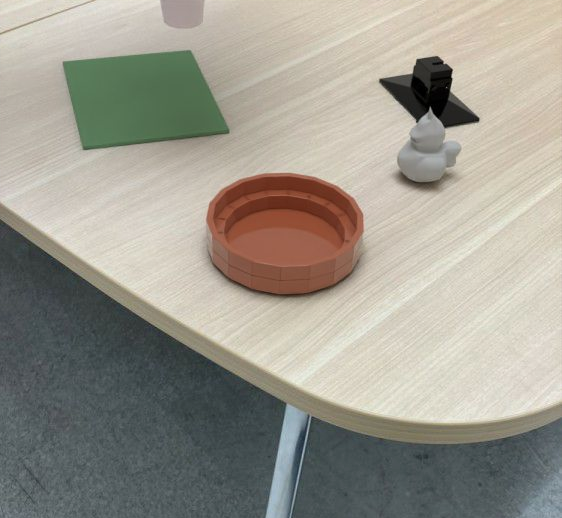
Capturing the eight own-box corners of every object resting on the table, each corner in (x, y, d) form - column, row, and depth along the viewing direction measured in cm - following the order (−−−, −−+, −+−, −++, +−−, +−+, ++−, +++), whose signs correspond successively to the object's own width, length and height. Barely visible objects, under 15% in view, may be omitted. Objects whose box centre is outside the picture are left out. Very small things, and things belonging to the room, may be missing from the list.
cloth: (83, 149, 84) (82, 146, 83) (63, 64, 97) (62, 61, 96) (229, 132, 87) (229, 129, 87) (190, 52, 100) (190, 49, 100)
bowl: (229, 309, 68) (228, 278, 65) (193, 213, 77) (191, 182, 74) (382, 283, 71) (387, 253, 68) (330, 194, 80) (333, 164, 78)
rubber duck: (387, 164, 84) (399, 94, 78) (446, 160, 85) (461, 91, 80) (402, 193, 81) (415, 121, 75) (462, 189, 82) (480, 118, 76)
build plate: (479, 122, 92) (489, 84, 88) (425, 132, 89) (432, 94, 86) (427, 73, 99) (434, 36, 96) (376, 81, 97) (381, 44, 94)
